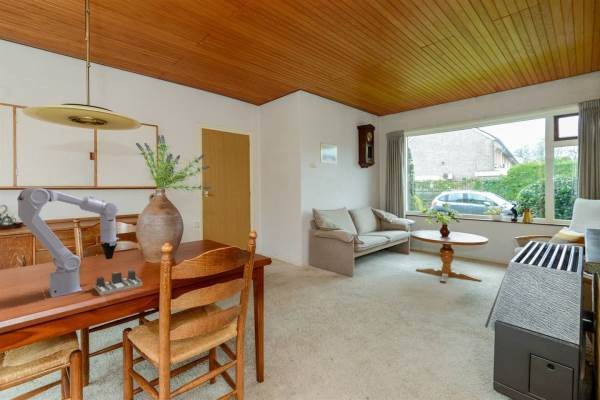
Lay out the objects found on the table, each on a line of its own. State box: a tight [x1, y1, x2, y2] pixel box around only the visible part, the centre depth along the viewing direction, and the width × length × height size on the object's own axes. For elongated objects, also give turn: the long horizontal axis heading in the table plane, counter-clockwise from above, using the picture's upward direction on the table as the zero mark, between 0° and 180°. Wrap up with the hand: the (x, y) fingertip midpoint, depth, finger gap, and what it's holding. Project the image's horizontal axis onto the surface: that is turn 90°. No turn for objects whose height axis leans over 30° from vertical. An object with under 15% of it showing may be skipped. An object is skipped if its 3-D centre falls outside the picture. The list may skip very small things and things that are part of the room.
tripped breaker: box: [110, 270, 123, 283], centre depth 120 cm, size 3×3×4 cm
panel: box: [93, 269, 143, 297], centre depth 118 cm, size 15×12×5 cm
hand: (109, 258), depth 126 cm, fingers closed
